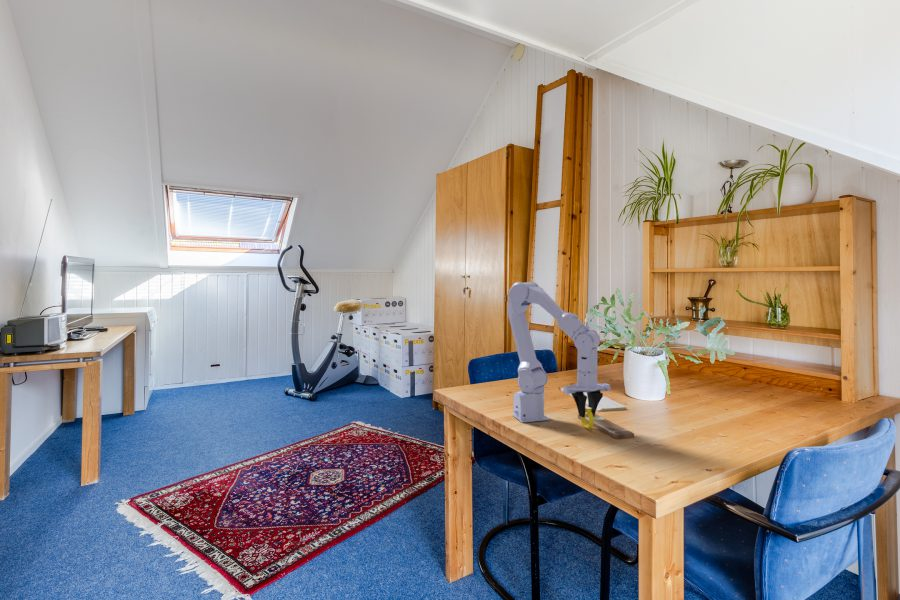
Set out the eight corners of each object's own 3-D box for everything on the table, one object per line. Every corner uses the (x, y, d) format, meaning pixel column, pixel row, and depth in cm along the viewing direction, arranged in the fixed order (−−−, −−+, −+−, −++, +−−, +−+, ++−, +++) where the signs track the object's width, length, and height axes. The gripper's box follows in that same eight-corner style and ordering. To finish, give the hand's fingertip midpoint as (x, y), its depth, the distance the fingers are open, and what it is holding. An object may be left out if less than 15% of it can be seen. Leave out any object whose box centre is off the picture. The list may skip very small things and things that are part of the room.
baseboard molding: (593, 413, 153) (626, 411, 155) (593, 405, 153) (626, 403, 155) (557, 391, 184) (584, 389, 186) (557, 384, 183) (584, 382, 185)
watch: (578, 425, 138) (578, 406, 138) (587, 425, 138) (586, 405, 139) (587, 430, 132) (586, 409, 132) (596, 429, 132) (595, 409, 133)
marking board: (615, 438, 127) (615, 435, 127) (577, 417, 146) (577, 414, 146) (634, 436, 128) (634, 433, 128) (594, 416, 148) (594, 413, 148)
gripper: (572, 375, 129) (571, 422, 130) (616, 372, 133) (616, 417, 133) (560, 370, 136) (559, 414, 137) (602, 367, 140) (602, 411, 140)
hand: (586, 416), depth 135 cm, fingers closed on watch, 3 cm apart
